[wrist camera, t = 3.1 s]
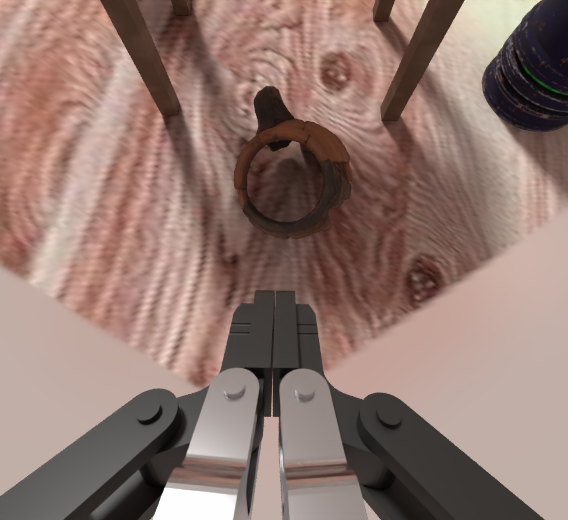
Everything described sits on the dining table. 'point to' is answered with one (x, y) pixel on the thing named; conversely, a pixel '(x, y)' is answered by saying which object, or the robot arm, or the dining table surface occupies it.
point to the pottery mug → (323, 144)
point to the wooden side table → (425, 38)
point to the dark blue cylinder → (532, 71)
